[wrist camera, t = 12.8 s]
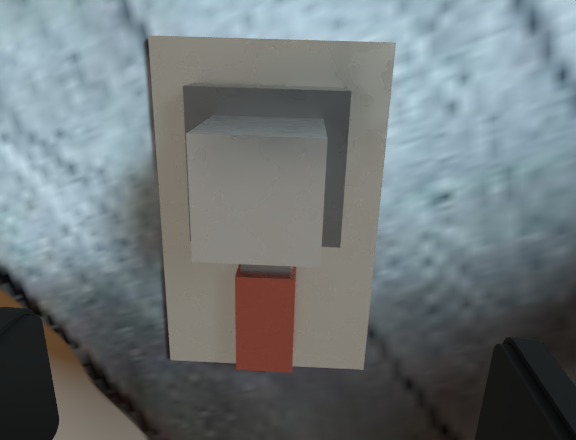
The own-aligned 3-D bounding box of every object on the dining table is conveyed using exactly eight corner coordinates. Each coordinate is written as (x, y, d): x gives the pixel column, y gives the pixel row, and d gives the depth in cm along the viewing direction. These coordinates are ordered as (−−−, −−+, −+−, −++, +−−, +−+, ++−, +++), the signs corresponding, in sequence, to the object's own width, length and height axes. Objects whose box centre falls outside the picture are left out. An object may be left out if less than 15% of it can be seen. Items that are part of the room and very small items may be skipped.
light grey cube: (323, 118, 25) (327, 138, 20) (318, 222, 27) (320, 267, 22) (213, 115, 26) (185, 133, 20) (215, 218, 28) (192, 262, 22)
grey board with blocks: (394, 42, 27) (422, 40, 20) (362, 365, 34) (375, 440, 28) (150, 35, 27) (100, 31, 21) (172, 355, 35) (140, 427, 28)
